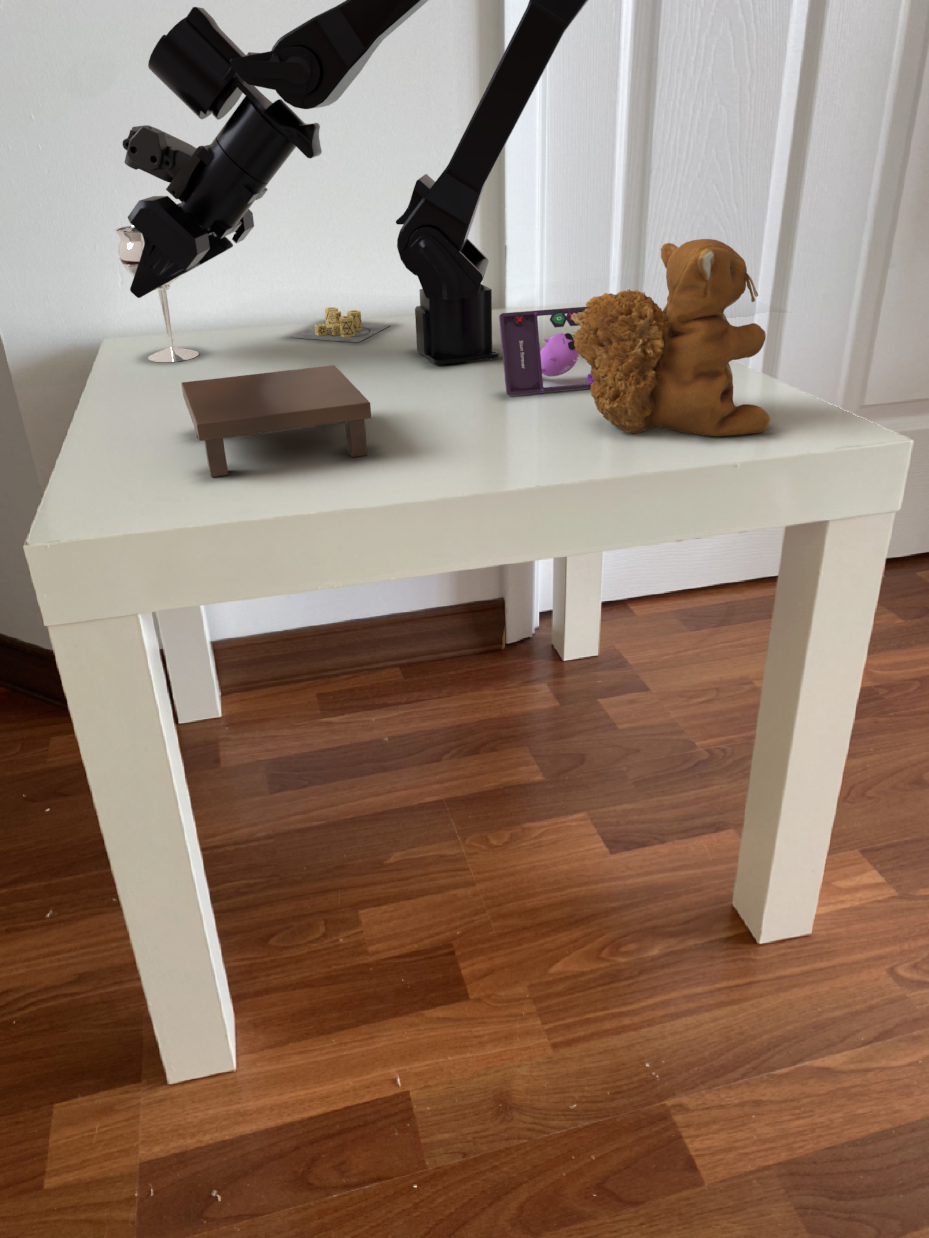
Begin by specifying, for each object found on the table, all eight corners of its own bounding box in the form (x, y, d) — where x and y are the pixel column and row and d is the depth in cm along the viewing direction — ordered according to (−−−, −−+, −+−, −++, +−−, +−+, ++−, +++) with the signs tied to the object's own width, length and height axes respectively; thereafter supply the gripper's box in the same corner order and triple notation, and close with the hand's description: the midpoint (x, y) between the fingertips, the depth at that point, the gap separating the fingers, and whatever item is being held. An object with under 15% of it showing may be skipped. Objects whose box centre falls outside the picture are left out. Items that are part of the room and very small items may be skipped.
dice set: (330, 324, 106) (328, 306, 106) (371, 327, 105) (370, 309, 104) (307, 335, 102) (305, 316, 101) (350, 338, 101) (348, 319, 100)
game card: (502, 312, 79) (604, 304, 81) (486, 321, 84) (583, 313, 86) (510, 395, 80) (610, 385, 82) (494, 399, 85) (589, 389, 87)
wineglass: (181, 366, 92) (158, 234, 86) (124, 361, 94) (98, 232, 88) (221, 349, 98) (202, 224, 92) (166, 345, 100) (144, 222, 94)
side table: (339, 413, 78) (334, 364, 76) (374, 456, 69) (370, 402, 67) (189, 432, 75) (180, 382, 73) (205, 480, 66) (196, 424, 64)
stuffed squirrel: (779, 433, 71) (806, 246, 65) (599, 451, 69) (608, 259, 62) (720, 396, 80) (739, 227, 73) (559, 410, 77) (563, 237, 71)
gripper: (205, 88, 92) (118, 212, 99) (129, 91, 76) (31, 240, 82) (294, 176, 95) (204, 291, 102) (239, 197, 79) (136, 332, 86)
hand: (147, 287), depth 93 cm, fingers closed on wineglass, 6 cm apart
